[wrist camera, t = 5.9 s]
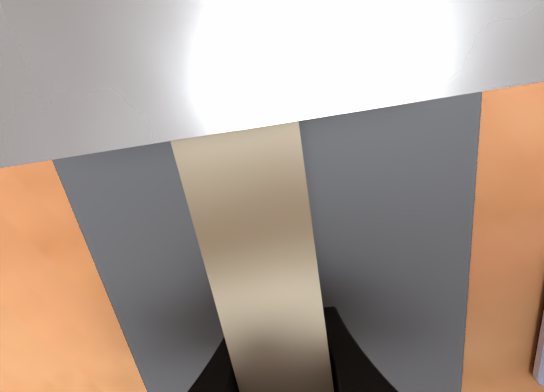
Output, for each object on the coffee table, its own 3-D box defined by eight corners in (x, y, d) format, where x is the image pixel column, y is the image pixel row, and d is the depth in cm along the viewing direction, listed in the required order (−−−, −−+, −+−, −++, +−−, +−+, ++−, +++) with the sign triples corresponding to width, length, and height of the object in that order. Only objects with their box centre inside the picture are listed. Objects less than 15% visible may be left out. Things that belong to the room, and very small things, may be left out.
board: (477, -143, 9) (500, -169, 8) (446, 455, 19) (455, 474, 18) (-6, -37, 10) (-35, -50, 10) (192, 472, 20) (188, 491, 19)
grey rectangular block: (424, -106, 9) (790, -596, 2) (422, 78, 10) (640, 66, 4) (38, -25, 10) (-410, -228, 3) (93, 132, 11) (-140, 190, 5)
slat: (208, 121, 11) (170, 141, 7) (292, 107, 11) (298, 120, 7) (283, 450, 17) (284, 555, 13) (338, 446, 17) (354, 551, 13)
